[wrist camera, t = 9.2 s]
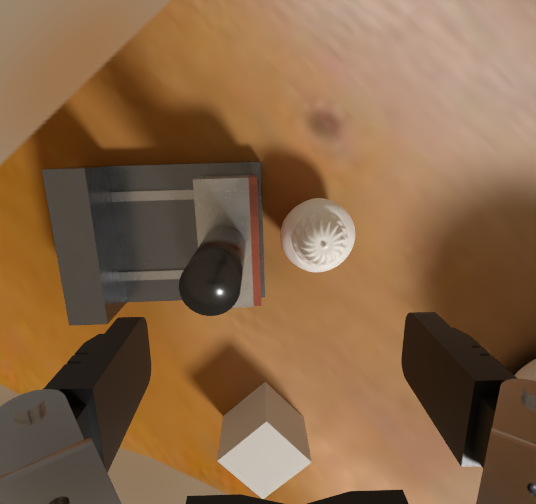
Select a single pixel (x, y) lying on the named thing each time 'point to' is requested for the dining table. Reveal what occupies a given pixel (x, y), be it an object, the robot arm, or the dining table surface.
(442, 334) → the robot arm
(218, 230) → the sliding jaw
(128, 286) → the jaw track
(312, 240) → the white rounded ridged piece
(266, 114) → the dining table surface
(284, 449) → the white cube
